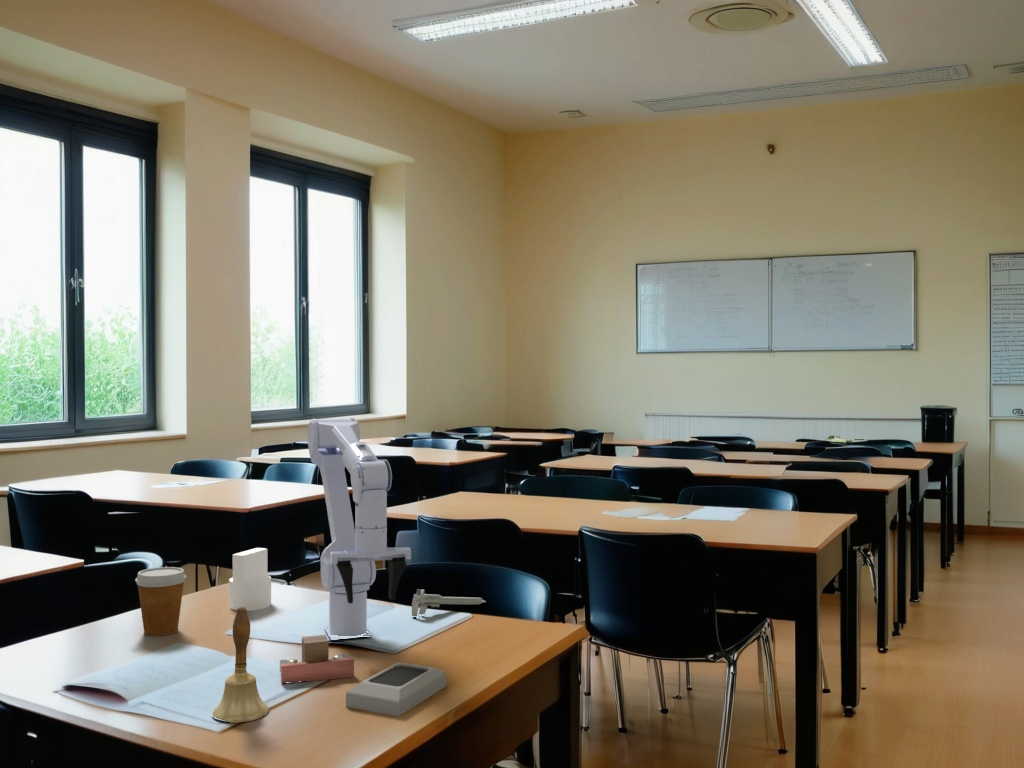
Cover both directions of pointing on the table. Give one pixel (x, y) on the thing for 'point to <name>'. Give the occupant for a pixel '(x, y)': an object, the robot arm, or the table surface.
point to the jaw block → (315, 648)
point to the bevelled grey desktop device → (396, 689)
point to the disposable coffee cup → (160, 599)
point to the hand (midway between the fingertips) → (371, 600)
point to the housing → (317, 669)
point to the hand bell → (241, 681)
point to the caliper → (438, 601)
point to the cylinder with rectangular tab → (250, 580)
